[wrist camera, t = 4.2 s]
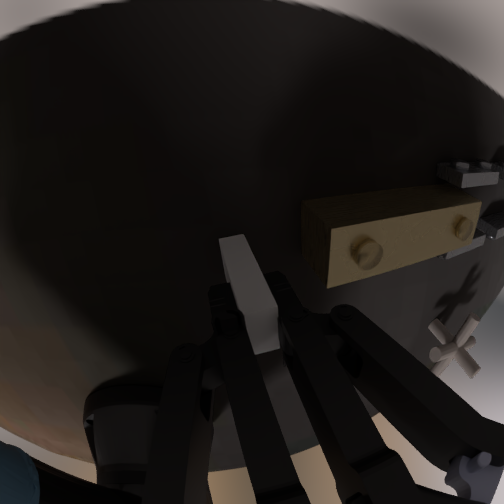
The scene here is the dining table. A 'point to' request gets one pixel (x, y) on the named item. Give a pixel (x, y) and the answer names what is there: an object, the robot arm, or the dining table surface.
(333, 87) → the dining table surface
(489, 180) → the chain end
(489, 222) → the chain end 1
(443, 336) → the pipe connector
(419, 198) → the link
